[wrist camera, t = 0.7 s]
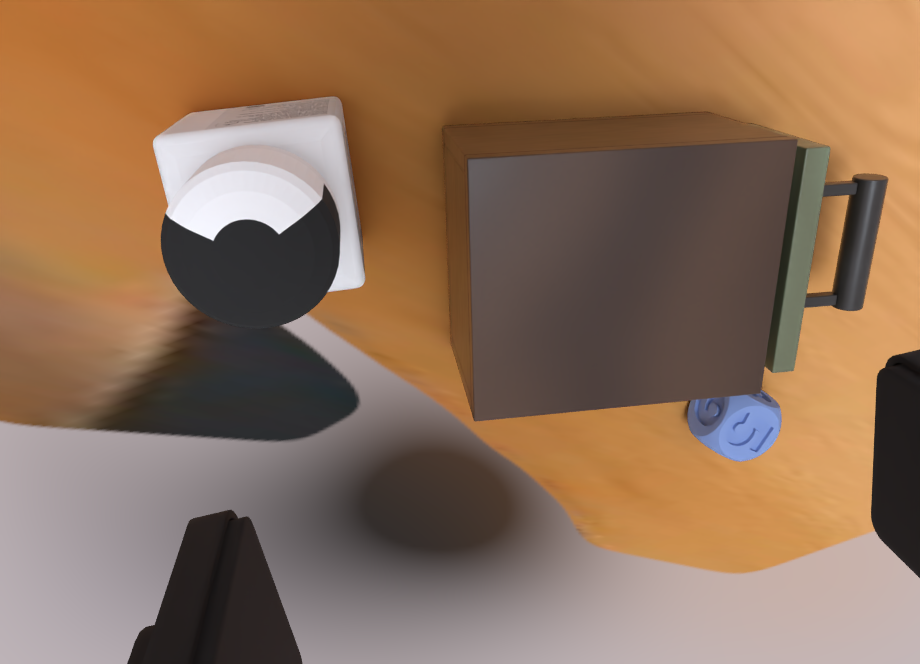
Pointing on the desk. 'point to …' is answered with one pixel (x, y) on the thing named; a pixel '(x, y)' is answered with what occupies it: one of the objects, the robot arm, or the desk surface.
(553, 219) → the cabinet
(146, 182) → the desk surface
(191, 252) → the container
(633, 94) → the desk surface
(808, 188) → the drawer
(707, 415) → the decorative dice
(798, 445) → the desk surface
